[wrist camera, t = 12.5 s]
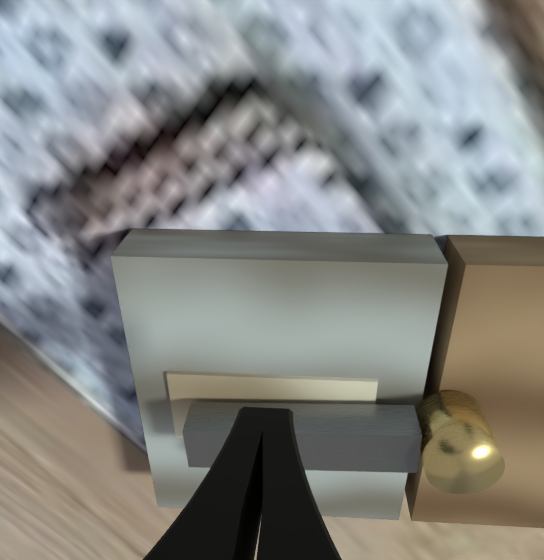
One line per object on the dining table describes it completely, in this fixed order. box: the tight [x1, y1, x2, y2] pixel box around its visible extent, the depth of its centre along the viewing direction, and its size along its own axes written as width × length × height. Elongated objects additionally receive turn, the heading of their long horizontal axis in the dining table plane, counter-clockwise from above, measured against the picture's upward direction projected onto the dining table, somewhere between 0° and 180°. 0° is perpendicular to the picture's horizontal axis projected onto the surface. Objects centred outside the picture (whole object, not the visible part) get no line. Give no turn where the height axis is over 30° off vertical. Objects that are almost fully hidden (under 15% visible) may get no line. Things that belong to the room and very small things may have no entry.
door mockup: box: [110, 229, 544, 528], centre depth 20 cm, size 14×24×5 cm, turn 91°
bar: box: [182, 391, 505, 494], centre depth 19 cm, size 12×3×3 cm, turn 93°
